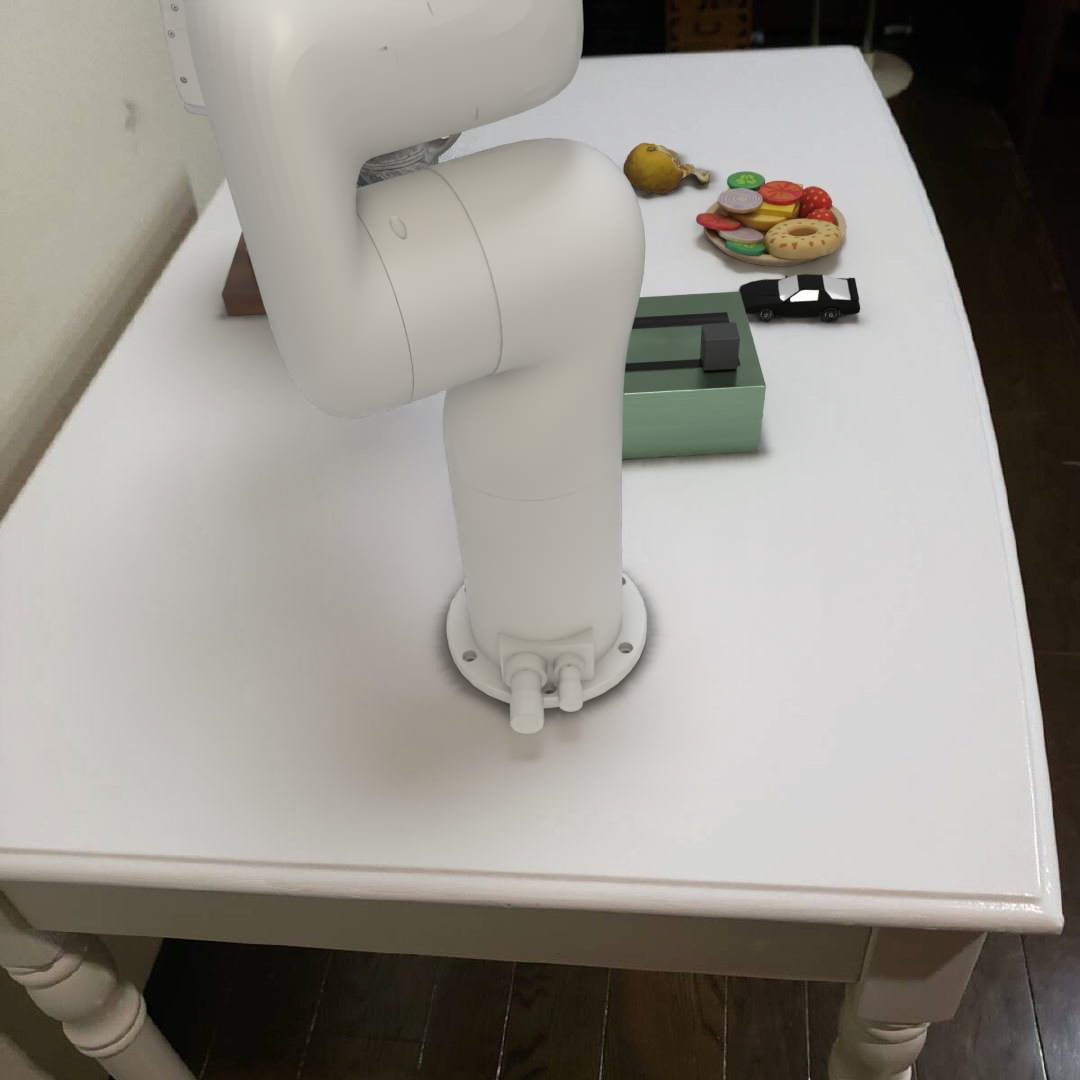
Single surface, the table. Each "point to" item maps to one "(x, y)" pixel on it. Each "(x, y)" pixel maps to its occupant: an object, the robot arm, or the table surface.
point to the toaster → (689, 381)
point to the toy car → (801, 297)
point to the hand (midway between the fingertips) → (268, 174)
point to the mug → (404, 160)
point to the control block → (242, 285)
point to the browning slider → (719, 346)
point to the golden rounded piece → (658, 168)
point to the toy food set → (773, 221)
